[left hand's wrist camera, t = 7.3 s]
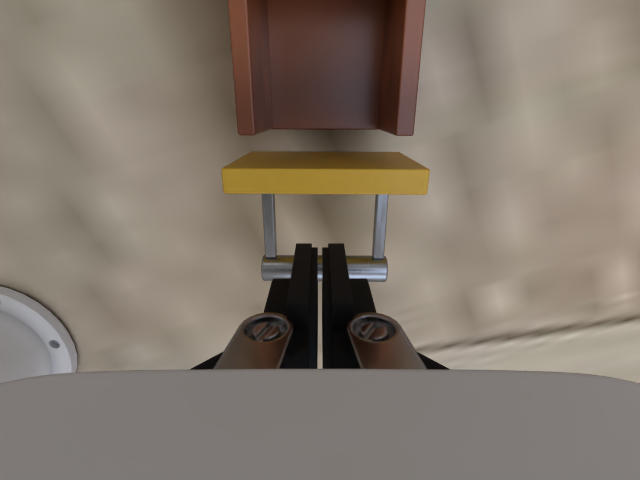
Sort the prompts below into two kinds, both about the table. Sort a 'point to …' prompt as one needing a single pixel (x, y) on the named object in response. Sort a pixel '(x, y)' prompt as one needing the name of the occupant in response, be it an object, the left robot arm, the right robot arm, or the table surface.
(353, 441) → the left robot arm
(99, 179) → the table surface
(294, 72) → the drawer
